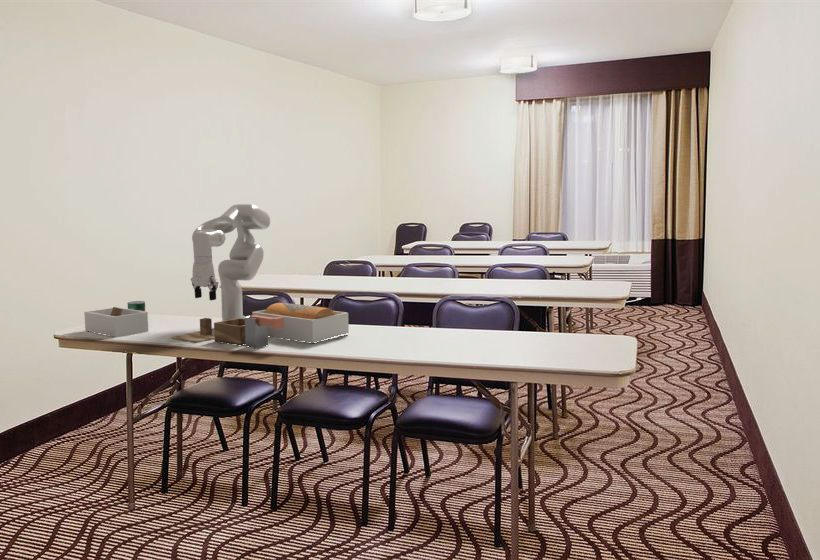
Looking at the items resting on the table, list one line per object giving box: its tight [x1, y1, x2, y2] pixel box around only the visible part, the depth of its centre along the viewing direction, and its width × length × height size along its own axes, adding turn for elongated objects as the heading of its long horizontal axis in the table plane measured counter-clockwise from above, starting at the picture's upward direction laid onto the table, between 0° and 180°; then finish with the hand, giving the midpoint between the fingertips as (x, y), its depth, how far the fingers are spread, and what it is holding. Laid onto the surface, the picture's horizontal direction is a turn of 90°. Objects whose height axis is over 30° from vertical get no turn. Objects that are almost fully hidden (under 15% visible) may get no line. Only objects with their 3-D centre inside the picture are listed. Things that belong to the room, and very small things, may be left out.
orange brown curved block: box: [264, 302, 337, 320], centre depth 296 cm, size 30×16×14 cm, turn 55°
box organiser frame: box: [251, 309, 350, 343], centre depth 299 cm, size 23×36×10 cm, turn 55°
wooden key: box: [248, 315, 284, 329], centre depth 272 cm, size 4×16×4 cm, turn 55°
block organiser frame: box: [83, 306, 149, 338], centre depth 307 cm, size 16×24×9 cm, turn 55°
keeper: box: [245, 316, 269, 349], centre depth 275 cm, size 7×6×12 cm
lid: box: [170, 317, 215, 344], centre depth 293 cm, size 15×17×8 cm
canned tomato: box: [126, 300, 146, 312], centre depth 323 cm, size 8×8×11 cm
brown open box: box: [213, 318, 246, 346], centre depth 286 cm, size 14×16×8 cm
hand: (205, 298), depth 295 cm, fingers open, 9 cm apart
